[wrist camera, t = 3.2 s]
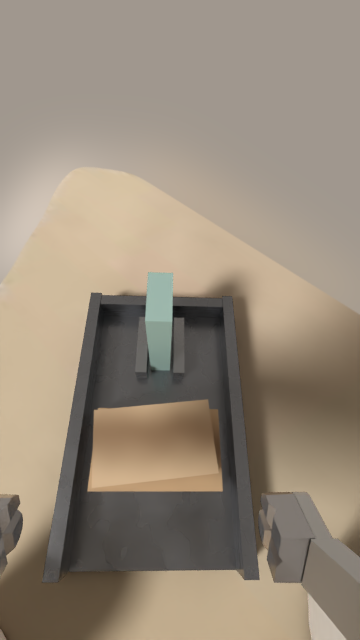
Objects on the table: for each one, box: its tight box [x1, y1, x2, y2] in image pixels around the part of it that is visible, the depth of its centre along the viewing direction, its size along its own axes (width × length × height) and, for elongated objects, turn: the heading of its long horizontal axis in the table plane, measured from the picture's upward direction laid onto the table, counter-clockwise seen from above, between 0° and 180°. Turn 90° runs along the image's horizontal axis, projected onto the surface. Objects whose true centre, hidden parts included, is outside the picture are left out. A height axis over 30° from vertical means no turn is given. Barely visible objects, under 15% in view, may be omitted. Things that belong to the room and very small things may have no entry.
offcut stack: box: [87, 399, 223, 491], centre depth 23 cm, size 6×10×4 cm, turn 90°
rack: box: [42, 293, 260, 582], centre depth 26 cm, size 22×14×3 cm, turn 0°
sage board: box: [145, 272, 173, 370], centre depth 25 cm, size 4×2×10 cm, turn 0°
